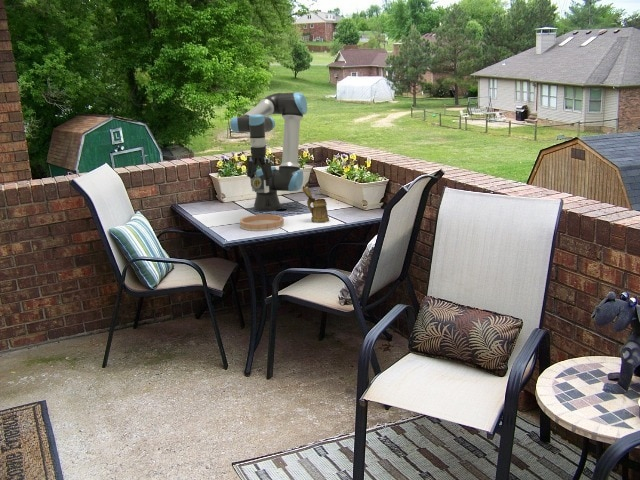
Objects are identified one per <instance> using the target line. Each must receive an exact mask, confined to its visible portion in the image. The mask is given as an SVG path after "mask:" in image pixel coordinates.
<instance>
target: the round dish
mask: <svg viewBox="0 0 640 480" xmlns="http://www.w3.org/2000/svg"><path fill="white" fill-rule="evenodd" d="M284 220H285V219H284V217H283V216H282V215H278V214H254V215H248V216H244V217H242V218H240V219H239V225H240V227H239V228H240V229H242V230H245V231H253V232H257V231H258V232H259V231H260V232H262V231H265V232H266V231H273V230H276V229H280V228H282V227H283V226H284V223H285V221H284Z"/></svg>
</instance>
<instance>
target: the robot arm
mask: <svg viewBox="0 0 640 480" xmlns="http://www.w3.org/2000/svg"><path fill="white" fill-rule="evenodd" d="M307 112H308V103H307V99H306V96H305V95H304V93H302V92H276V93H275V92H274V93H272V94H269V95H267V96H266V97H263V98H262V99H260V100H259V102H258V103H257V105H255V106H254V107H252V108H251V109H250V110H248V111H246V113H244V114H242V115H241V116H234V117H232V118H231V119H230V121H229V122H230V123H229V124H230V130H231V131H233V133H234V132H235V133H249V141H250V143H249V144H250V154H251V156H249V157H247V158H246V161H247V167H246V169H247V170H246V177H248V178H250V181H251V180H252V178H253V177H256V175H254V174H257V172H258V174H257V176H258V177H260V178H261V180H262V185H261V187H260V188H259V189H264V193H257V192H255V191H254V190H255V189H253V188H252V187H251V192H255V194H256V196H255V200H254V204H253V210H254V211H259V212H272V211H277V210H280V209H281V208H282V207H281V206H282V204H281V202H280V200H279V196H278V191H281V192H285V191H286V192H298V191H299V190H300V189H301V188H302V187H303V182H304V172H303V171H302V170H301V166H300V165H299V163H298V161H299V159H298V158H299V145H300V143H299V142H300V124H301V120H303V118H304V115H306V114H307ZM272 115H281V118H282V119H283V120H284V123H283V138H282V139H283V140H282V144H283V145H282V155H281V157H282V158H281V164H279V166H278V169H277V167H276V166H271V160H272V159H271V158H267V157H266V154H267V147H266V133H269V132H271V131H272V130H274V128H275V127H276V121H275V119H274V118H273V117H271V116H272ZM258 166H259V167H260V168H258ZM254 172H255V173H254ZM255 186H257V185H255Z"/></svg>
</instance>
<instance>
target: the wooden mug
mask: <svg viewBox="0 0 640 480" xmlns="http://www.w3.org/2000/svg"><path fill="white" fill-rule="evenodd" d="M302 191H303V193H304V195H305V197H307V198H308V199H307V202H306V204H307V208H308V209H309V211H310V212H311V222H312V223H316V224H319V223H327V222H329V221H330V217H329V214H328V208H327V202H326V201H327V200H326V199H325V198H316V197H313V195H312V193H311V191H310V190H309V189H308V188H307V187H306V186H304V185H302ZM311 204H312V205H311Z"/></svg>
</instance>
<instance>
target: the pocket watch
mask: <svg viewBox="0 0 640 480" xmlns="http://www.w3.org/2000/svg"><path fill="white" fill-rule="evenodd" d="M254 173H255V172H254ZM257 174H258V172H257ZM257 174H254V175H256V177H253V178H252V180H250V187H251V189H252V188H253V189H255V190H254V191H253V192H254V193H256V192H257V193H264V189H259V188H260V187H261V185H262V180H261V178H260V177H258V176H257ZM255 185H257V186H255Z"/></svg>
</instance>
